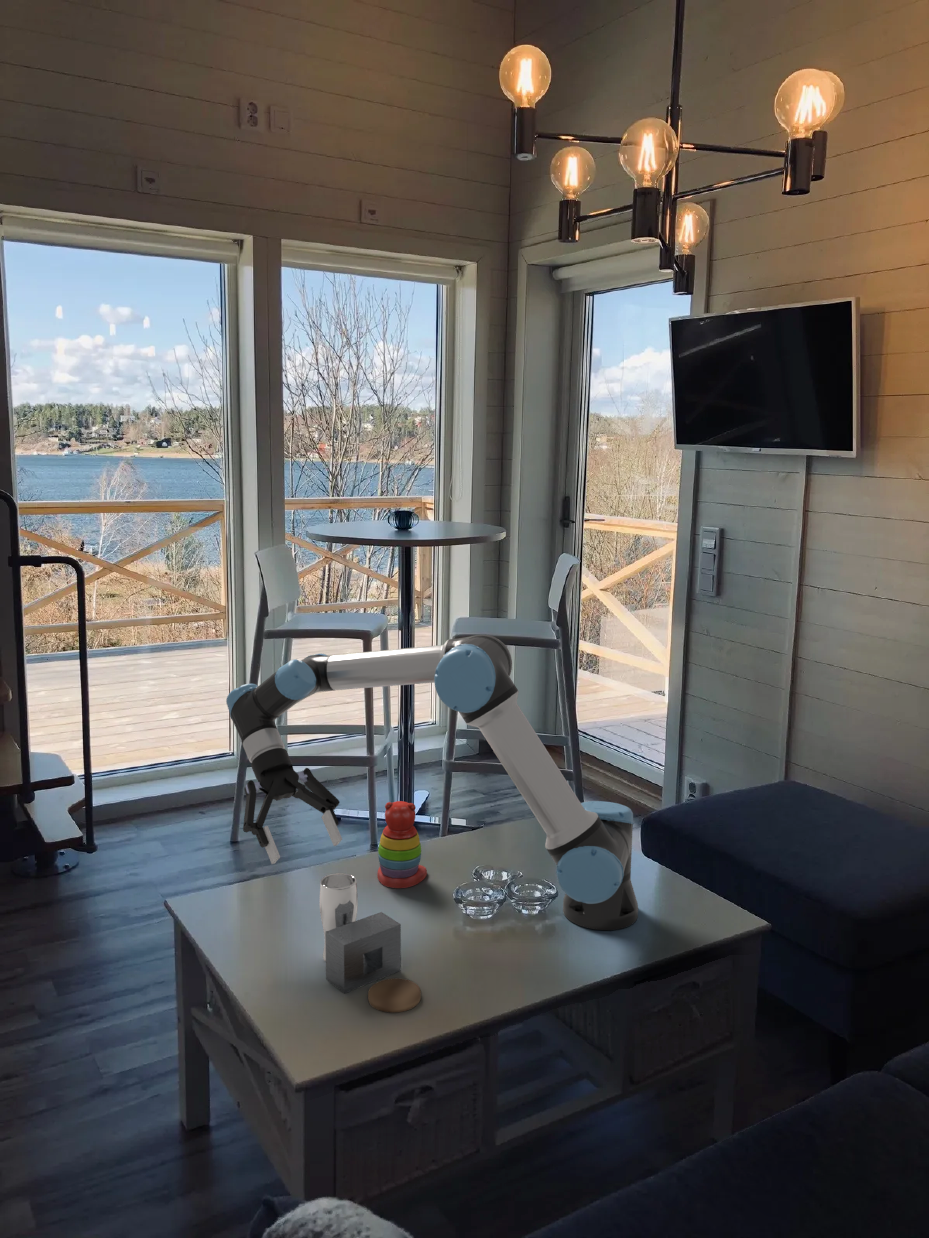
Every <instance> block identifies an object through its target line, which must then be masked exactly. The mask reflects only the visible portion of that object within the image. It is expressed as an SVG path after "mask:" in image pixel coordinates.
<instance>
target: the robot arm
mask: <svg viewBox="0 0 929 1238" xmlns="http://www.w3.org/2000/svg"><path fill="white" fill-rule="evenodd" d="M512 670H513V659H512V655H511V653H510V650H509V648H508V647H507V646H506V645H505V643H504V642H502V640H500V639H498V638H497V637H496V636H492V635H489V634H475V635H471V636H467V637H460V638H450V639H447V640H446V641H445V642H444V644H439V645H429V646H417V647H405V648H396V649H385V650H373V651H362V652H353V653H341V654H332V655H329V654H328V655H327V654H326V653H315V654H310V655H308V656H307V657H304V658H303V659H300V660H298V659H297V658H296V659H290V660H289V661H288V662H287V663H285V664H283V665H281V666H280V667H279V668H278V669H277V670H276V671H275V672H274V673H272V674H271V675H270V676H269V677H268V678H267V679H264V681H263V682H262V683H261V684H259V685H257V684H255V683H246V684H245V683H244V684H241V685H240V686H239V687H236V688H234V689H233V690H231V691H230V692H229V693H228V694H227V697H226V700H225V702H226V706H227V709H228V711H229V717H230V719H231V721H232V722H233V725H234V727H235V729H236V731H237V733H238V736H239V738H240V742H241V744H242V747H243V749H244V752H245V754H246V756H247V759H248V761H249V763H251V764H250V766H251V769H252V771H253V774H254V777H255V779H256V780H257V782H256V781H253V780H252V779H251V780H248V782H246V785H245V786H244V788H243V790H244V793H245V796H246V798H245V806H244V816H243V826H242V831H243V832H244V833H248V832H249V833H250V832H251V834H252V835H253V836H256V839H257V841H258V844H259V847H261V848H264V849H265V851H266V853H267V856H268V859H269V861H270V864H271V865H274V864H276V863H277V862H278V860H279V859H280V858H281V855H280V853H279V850H278V847H277V845H276V843H275V840H274V838H273V835H272V833H271V831H270V828H269V826H268V825H265V826H264V824H265V822H266V819H267V816H268V814H269V811H270V808H271V806H272V802H273V800H274V801H280V800H282V799H290V798H291V797H293V798H295V799H299V800H300V801H302V802H304V803H306V804H307V805H309V806H311V807H312V808H313V809H315V810H317V811H319V812H320V813H321V814H322V816H321V819H322V822H323V824H324V827H325V829H326V831H327V834H328V835H329V838H330V841H331V843H332V845H333V847H337V846H338V845H339V844H340V843H341V842H342V840H343V837H342V835H341V832H340V831H339V828H338V826H339V823H340V822H339V819H338V817H337V815H336V813H335V810H336V808H337V807H338V806H339V804H340V800H339V798H337V797H336V796H335V795H334V794H333V793H332V792H331V791H330V790H329V789H327V787H325V785H323V784H322V782H320V781H319V780H318V779H317V778H316V777H315V776H314V774H313V773H312V771H311V769H310V767H305V768H304V770H302V771H299V772H297V771H295V769H294V767H293V762H292V760H291V758H290V756H289V753H288V751H287V749H285V743H284V741H283V739H282V736H281V734H280V732H279V729H278V728H277V724H276V721H275V720H277V719H278V718H280V717H281V716H282V715H284V713H286V712H287V711H288V710H290V709H291V708H292V707H294V706H295V705H296V704H299V703H300V702H302V701H303V700H305V699H307V698H309V697H311V696H312V695H315V694H316V693H321V692H332V691H334V692H335V691H343V690H357V689H368V688H380V687H382V688H383V687H394V686H395V687H396V686H397V687H398V686H407V685H408V686H409V685H420V684H433V683H434V688H435V691H436V693H437V694H436V695H437V696H438V697H439V699H440V700H441V702H442V703H443V705H445V706H446V707H448V708H449V709H450V710H453V711H456V712H458V714H460V716H461V717H462V719H463V720H464V723H465V724H466V725H467V726H470V727H474V728H477V729H478V730H479V731H480V732H481V734H482V735H483V737H484V739H485V740H486V742H487V743H488V745H489V746H490V748H491V749H492V750H493V751H492V752H493V753H494V754H495V756H496V757H497V759H498V760H499V762H500V764H501V765H502V767H503V768H504V769H505V771H506V773H507V774H508V776H509V777H510V779H511V781H512V783H513V784H514V785H515V787H516V789H517V790H518V792H519V793H520V795H521V796H522V798H523V800H524V801H525V802H526V804H527V806H528V808H529V809H530V811H531V812H532V814H533V815H534V817H535V819H536V820H537V821H538V823H539V825H540V826H541V828H542V830H543V831H544V833H545V834H546V837H545V838H546V839H545V845H544V848H545V849H546V850H547V852H548V853H549V855H550V857H551V859H552V860H553V861H554V863H555V865H556V872H555V874H556V878H557V879H556V880H557V883H558V885H559V887H560V889H561V890H562V892H563V893H564V897H563V901H562V912H563V914H564V916H565V917H566V919H568V921H570V922H571V923H573V924H575V925H577V926H580V927H583V928H587V929H590V930H599V931H614V930H615V931H616V930H620V929H625V928H627V927H629V926H631V925H633V924H634V923H636V921H637V919H638V918H639V917H638V915H639V904H638V901H637V896H636V894H635V891H634V887H633V883H632V880H631V876H632V869H631V868H632V851H633V850H632V849H633V828H634V824H635V822H634V813H633V810H632V809H631V808H630V807H628V806H626V805H624V804H621V803H617V802H612V801H611V802H610V801H600V800H599V801H598V800H593V801H592V800H590V801H583V802H581V801H580V800H579V798H578V796H577V795H576V793H575V792H574V791H573V788H572V787H571V785H570V784H569V782H568V781H567V780H566V777H564V774H562V772H561V770H560V768H559V767H558V765H557V764H556V763H555V760H554V759H553V758H552V756H551V755H550V752H549V751H548V750H547V748H546V746H545V745H544V744H543V742H542V740H541V739H540V737H539V736H538V734H537V732H536V731H535V729H534V728H533V726H532V725H531V723H530V721H529V720H528V718H527V716H526V715H525V714H524V712H523V711H522V709H521V707H520V706H519V705H518V698H519V690H518V688H517V686H516V684H515V683H514V681H513V680H512V679H511V677H510V676H511V673H512ZM306 787H307V788H306ZM259 790H260V791H261V792H262V793H263V794H265V796H264V798H263V801H262V804H261V807H260V810H259V811H258V812H259V813H258V815H257V817H256V820H255V809H256V801H257V792H258V791H259ZM254 820H255V822H254ZM263 826H264V827H263Z"/></svg>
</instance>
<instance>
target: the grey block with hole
mask: <svg viewBox="0 0 929 1238" xmlns="http://www.w3.org/2000/svg"><path fill="white" fill-rule="evenodd" d="M401 928H402V927H401V923H399V921H397V920H395V919H393V918H392V917H390V915H389V916H388V915H387V914H386V913H384V912H383V911H381V912H377V913H375V914H372V915H369V916H367V917H363V918H360V919H358V920H357V919H356V921H354V922H351V923H349V924H346V925H343V926H340V927H337V928H335V929H332V930H329V931H326V932H325V936H324V942H325V941H326V962H325V979H326V980H327V981H328V982H329V983H330V984H332V985H333V986H334V987H336V988H337V989H338V990H339V991H341V992H342V993H343V994H347V993H349V992H351V991H354V990H357V989H359V988H361V987H364V986H366V985H369V984H371V983H373V982H376V981H378V980H379V981H380V980H381V979H383V978H386V977H388V976H391V975H393V974H396V973H398V972H400V971H401V970H402V968H401V967H402V966H401V965H402V963H401V962H402V960H401V959H402V957H401V956H402V954H401V953H402V952H401V950H402V946H401V944H402V943H401V941H402V939H401V938H402V937H401V936H402V935H401V933H402V930H401Z"/></svg>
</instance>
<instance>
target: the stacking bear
mask: <svg viewBox="0 0 929 1238" xmlns="http://www.w3.org/2000/svg"><path fill="white" fill-rule="evenodd" d="M416 807H417V806H416V805H415V804H414V803H413V802H407V801H402V800H397V801H393V802H391V801H388V802H386V804H385V806H384V809H385V812H384V820H385V823H386V826H385V827H384V829H383V830H382V833H381V834H380V839H379V843H378V847H377V848H378V850H377V856H378V862H379V867H378V870H377V874H376V875H377V879H378V881H379V883H381V885H383V886H384V887H387V888H391V889H392V888H393V889H407V888H411V887H413V886H416V885H418V884H420V883H421V882H422V881H423V880H425V878H426V877H427V874H428V870H427V867H425V866H424V865H421V864H420V862H421V859H422V845H421V842H420V841H421V840H420V835H419V833H418V830H417V829H416V827H415V826H414V824H415V820H416Z"/></svg>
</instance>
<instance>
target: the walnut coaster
mask: <svg viewBox="0 0 929 1238" xmlns="http://www.w3.org/2000/svg"><path fill="white" fill-rule="evenodd" d="M421 992H422V991H421V988H420V986H419V985H418V984H417V983H415V982H414V981H412V980H409V979H406V978H397V977H395V978H386V979H382V980H379V981H377V982H375V983H373V985H371V986H370V987H369V989H368V992H367V993H368V995H367V997H368V998H367V999H368V1003H369V1004H370V1006H371V1007H372V1008H374V1009H376V1010H377V1011H380V1012H385V1013H391V1014H392V1013H393V1014H396V1013H402V1012H407V1011H410V1010H412V1009H413V1008H415V1007H416V1006H418V1005H419V1004H420V1001H421V1000H422V999H421V998H422V993H421Z"/></svg>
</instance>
